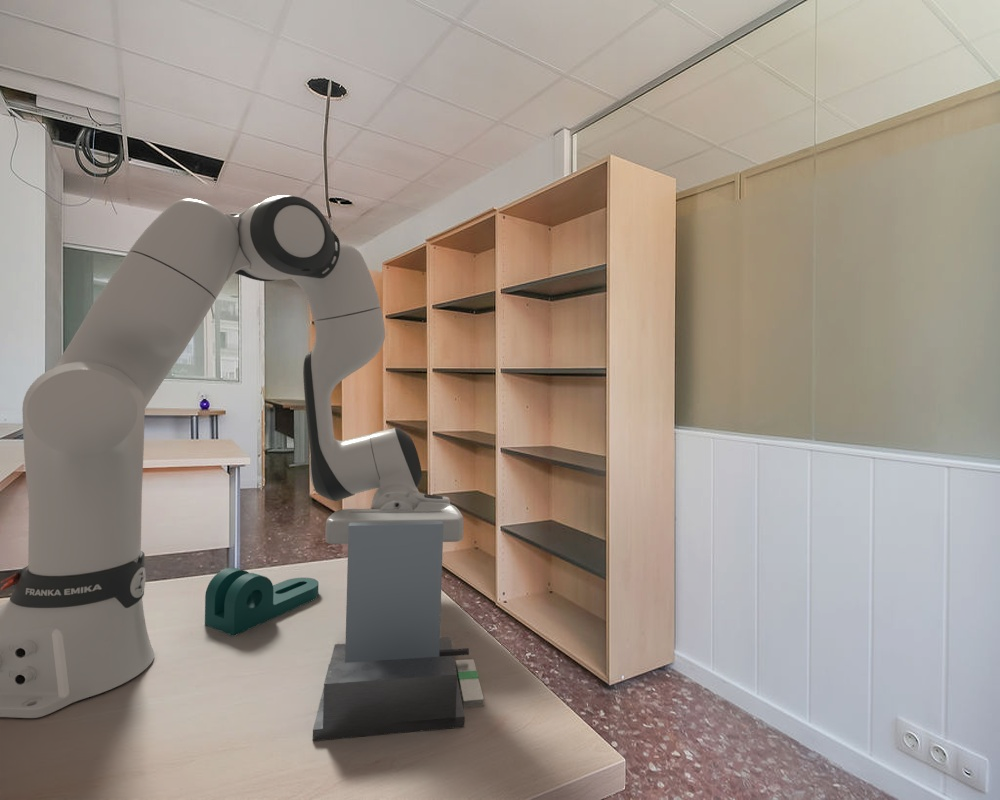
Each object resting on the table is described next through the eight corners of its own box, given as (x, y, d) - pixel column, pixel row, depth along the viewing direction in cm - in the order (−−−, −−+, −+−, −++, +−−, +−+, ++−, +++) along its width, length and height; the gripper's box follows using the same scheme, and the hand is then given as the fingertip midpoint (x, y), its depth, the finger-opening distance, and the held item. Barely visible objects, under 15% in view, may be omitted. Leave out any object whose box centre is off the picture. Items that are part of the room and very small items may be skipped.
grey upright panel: (344, 665, 66) (348, 525, 66) (346, 659, 68) (349, 522, 67) (469, 657, 69) (473, 523, 69) (467, 651, 71) (472, 520, 70)
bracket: (233, 637, 76) (234, 584, 75) (204, 626, 79) (205, 575, 79) (326, 595, 92) (327, 551, 92) (299, 587, 95) (300, 544, 95)
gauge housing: (312, 741, 54) (313, 684, 54) (334, 652, 72) (335, 610, 72) (488, 725, 58) (490, 672, 58) (468, 644, 75) (469, 604, 75)
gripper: (331, 497, 83) (317, 519, 69) (458, 496, 87) (468, 517, 73) (330, 536, 83) (316, 566, 70) (456, 534, 87) (467, 562, 73)
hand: (395, 541), depth 71 cm, fingers closed
